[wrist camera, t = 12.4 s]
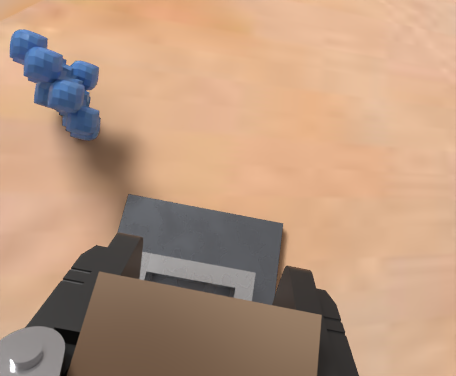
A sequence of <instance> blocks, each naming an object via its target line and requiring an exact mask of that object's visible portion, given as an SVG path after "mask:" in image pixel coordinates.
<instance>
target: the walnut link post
mask: <svg viewBox="0 0 456 376" xmlns="http://www.w3.org/2000/svg"><path fill="white" fill-rule="evenodd" d="M321 318H322V315H319V314H314V313H309V312H304V311H299V310H294V309H289V308H283V307H278V306H273V305H268V304H263V303H258V302H253V301H248V300H243V299H238V298H232V297H227V296H222V295H217V294H212V293H207V292H202V291H197V290H192V289H186V288H181V287H176V286H171V285H166V284H161V283H156V282H151V281H146V280H140V279H135V278H130V277H125V276H120V275H115V274H110V273H105V272H100V271H99V273H98V276H97V280H96V283H95V286H94V289H93V293H92V296H91V299H90V302H89V306H88V309H87V312H86V315H85V318H84V322H83V325H82V328H81V331H80V335H79V338H78V341H77V344H76V347H75V351H74V354H73V357H72V360H71V364H70V367H69V370H68V373H67V376H317V368H318V355H319V343H320V330H321Z"/></svg>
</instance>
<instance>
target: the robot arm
mask: <svg viewBox="0 0 456 376" xmlns="http://www.w3.org/2000/svg"><path fill="white" fill-rule="evenodd" d="M142 250H143V237H140V236H135V235H130V234H125V233H120V232H119V233H117V234H116V236H115V237H114V239H113V240H112V242H111V243H110V245H109V246H108V248H107V247H102V246H97V245H96V246H94V247H93V248H91V249H90V250H88V251H86V252H85V253H83V254H81V256H80V257H79V258H78V259H77V261H76V262H75V263H74V265H73V266H72V267H71V270H69V271H68V273H67V274H66V275H65V276H64V278H63V281H61V282H60V283H59V284H58V286H57V287H56V288H55V290H54V291H53V292H52V293H51V295H50V296H49V297H48V299H47V300H46V301H45V303H44V304H43V305H42V307H41V308H40V309H39V310H38V312H37V313H36V314H35V316H34V317H33V318H32V320H31V321H30V322H29V324H28V325H27V326H26V327H25V328H23V329H20V330H17V331H15V332H13V333H11V334H9V335H7V336H6V337H4V338H3V339H1V340H0V376H67V373H68V370H69V367H70V364H71V360H72V357H73V354H74V351H75V347H76V344H77V341H78V338H79V335H80V331H81V328H82V325H83V322H84V318H85V315H86V312H87V309H88V306H89V302H90V299H91V296H92V293H93V289H94V286H95V283H96V280H97V276H98V273H99V271H100V272H105V273H110V274H115V275H120V276H125V277H130V278H135V279H139V278H140V270H141V260H142ZM272 305H273V306H278V307H283V308H289V309H294V310H299V311H304V312H309V313H314V314H319V315H322V318H321V330H320V343H319V355H318V368H317V376H359V375H358V372H357V368H356V365H355V362H354V359H353V356H352V353H351V350H350V346H349V343H348V340H347V337H346V336H345V331H344V328H343V324H342V323H341V318H340V315H339V312H338V309H337V306H336V304H335V302H334V301H333V300H332V298H331V297H330V296H329V294H328V293H327V292H326V290H321V289H316V286H315V282H314V278H313V275H312V272H311V271H310V270H306V269H301V268H296V267H291V266H286V267H285V269H284V271H283V274H282V277H281V280H280V282H279V285H278V288H277V291H276V294H275V297H274V300H273V303H272Z"/></svg>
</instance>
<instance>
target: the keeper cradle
mask: <svg viewBox="0 0 456 376" xmlns="http://www.w3.org/2000/svg"><path fill="white" fill-rule="evenodd" d="M282 229H283V223H277V222H272V221H267V220H262V219H256V218H251V217H246V216H241V215H236V214H230V213H225V212H220V211H215V210H209V209H204V208H199V207H194V206H188V205H183V204H178V203H173V202H167V201H162V200H157V199H152V198H147V197H141V196H136V195H131V194H129V195H128V198H127V202H126V205H125V208H124V212H123V215H122V219H121V222H120V226H119V229H118V233H119V232H120V233H125V234H130V235H135V236H140V237H143V250H142V260H141V270H140V278H139V279H140V280H146V281H151V282H156V283H161V284H166V285H171V286H176V287H181V288H186V289H192V290H197V291H202V292H207V293H212V294H217V295H222V296H227V297H232V298H238V299H243V300H248V301H253V302H258V303H263V304H268V305H272V303H273V300H274V297H275V289H276V280H277V272H278V263H279V254H280V246H281V237H282Z"/></svg>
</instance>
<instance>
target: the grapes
mask: <svg viewBox="0 0 456 376" xmlns="http://www.w3.org/2000/svg"><path fill="white" fill-rule="evenodd" d="M10 57H11V58H13V61H15V62H17V63H20V64H22V65H24V76H26V77H28V80H29V81H32V82H34V83H37V84H36V88H35V94H34V103H36V104H39V105H42V106H45V107H48V108H52V109H55V110H57V112H59V115H61V116H63V121H62V125H63V126H66V131H68V132H70V136H71V137H74V138H78V139H81V140H88V141H89V140H94V139H95V138H96V137H97V136H98V134H99V131H100V118H99V111H98V110H95V109H92V108H90V107H89V104H90V97H89V92H87V91H86V90H92V89H93V88H94V87H95V86H96V85H97V81H98V74H99V67H97V66H95V65H93V64H90V63H87V62H84V61H75V62H74V63H73V64H72V65H71V66H68V65H66V60H65V59H63V55H61V54H59V53H56V52H54V51H51V50H49V49H47V38H46V37H44V36H41V35H39V34H37V33H34V32H31V31H28V30H17V31H15V32H14V34H13V35H12V37H11V42H10Z"/></svg>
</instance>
